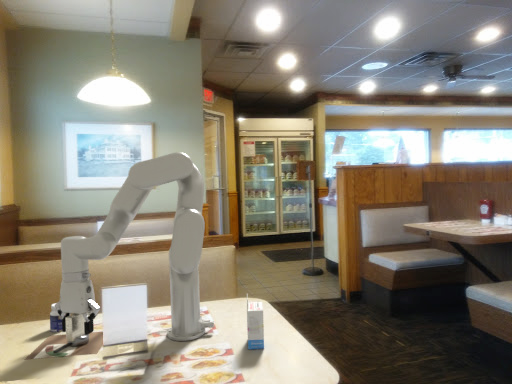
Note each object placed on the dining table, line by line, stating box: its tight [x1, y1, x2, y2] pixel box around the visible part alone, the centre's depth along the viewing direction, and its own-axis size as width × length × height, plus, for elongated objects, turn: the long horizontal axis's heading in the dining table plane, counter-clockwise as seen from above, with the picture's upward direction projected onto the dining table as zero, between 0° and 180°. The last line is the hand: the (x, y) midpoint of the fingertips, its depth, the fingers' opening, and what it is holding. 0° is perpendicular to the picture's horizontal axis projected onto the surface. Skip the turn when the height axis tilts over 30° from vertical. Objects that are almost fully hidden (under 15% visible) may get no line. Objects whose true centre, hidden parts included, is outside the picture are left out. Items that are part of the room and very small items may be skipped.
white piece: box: [53, 310, 89, 353], centre depth 112 cm, size 12×6×9 cm, turn 162°
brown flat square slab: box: [23, 331, 104, 361], centre depth 115 cm, size 20×18×1 cm
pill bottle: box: [49, 302, 63, 333], centre depth 128 cm, size 6×6×10 cm
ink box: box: [246, 293, 265, 350], centre depth 114 cm, size 8×5×15 cm, turn 2°
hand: (78, 331), depth 115 cm, fingers open, 8 cm apart
